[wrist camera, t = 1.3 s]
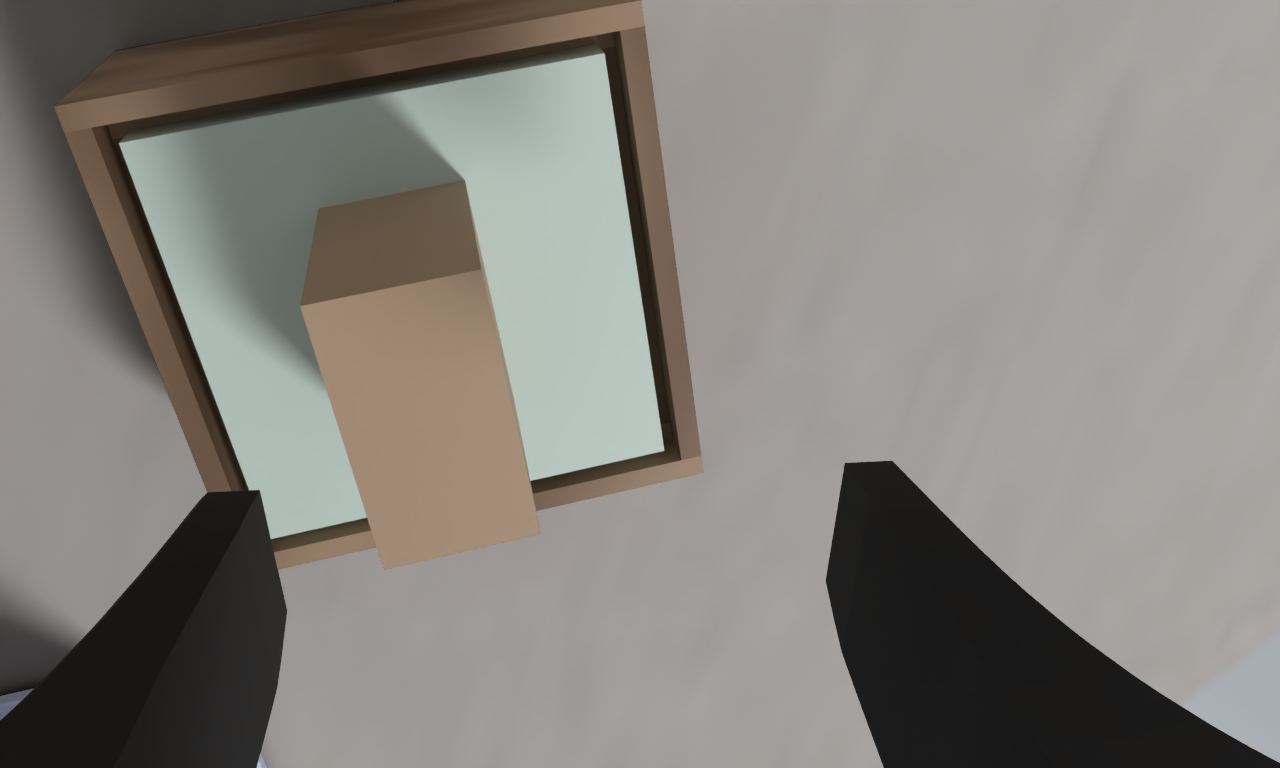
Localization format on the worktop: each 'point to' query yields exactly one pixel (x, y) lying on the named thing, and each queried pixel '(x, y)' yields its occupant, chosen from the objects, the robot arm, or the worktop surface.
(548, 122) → the lid
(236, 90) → the box
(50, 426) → the worktop surface
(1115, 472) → the worktop surface
